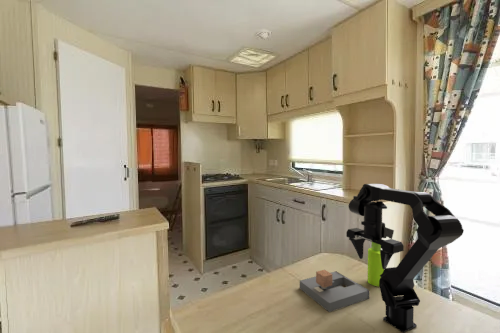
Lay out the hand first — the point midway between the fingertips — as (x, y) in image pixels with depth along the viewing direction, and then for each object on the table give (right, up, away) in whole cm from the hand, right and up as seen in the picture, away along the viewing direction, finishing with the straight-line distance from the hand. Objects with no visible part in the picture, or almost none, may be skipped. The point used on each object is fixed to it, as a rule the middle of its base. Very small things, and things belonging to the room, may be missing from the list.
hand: (372, 263), depth 85 cm
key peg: (-16, -13, +3) cm, 21 cm away
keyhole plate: (-13, -13, +4) cm, 19 cm away
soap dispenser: (+8, -13, +13) cm, 20 cm away
